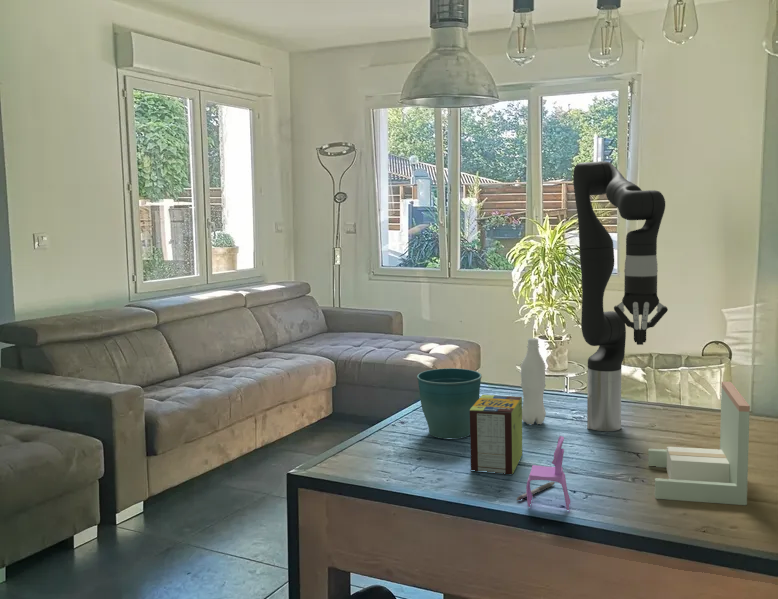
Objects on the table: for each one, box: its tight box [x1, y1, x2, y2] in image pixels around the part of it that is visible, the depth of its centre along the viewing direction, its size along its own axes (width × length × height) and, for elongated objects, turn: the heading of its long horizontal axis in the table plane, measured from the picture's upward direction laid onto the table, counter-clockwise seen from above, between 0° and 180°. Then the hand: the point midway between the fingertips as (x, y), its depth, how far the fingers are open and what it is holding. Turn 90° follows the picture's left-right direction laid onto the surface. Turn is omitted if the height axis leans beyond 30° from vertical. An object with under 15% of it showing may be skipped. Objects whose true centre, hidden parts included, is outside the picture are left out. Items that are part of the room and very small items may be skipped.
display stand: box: [647, 381, 751, 506], centre depth 165 cm, size 18×22×21 cm
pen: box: [516, 481, 556, 501], centre depth 163 cm, size 1×14×1 cm, turn 132°
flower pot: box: [416, 367, 483, 439], centre depth 208 cm, size 18×18×17 cm
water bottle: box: [520, 338, 547, 426], centre depth 216 cm, size 7×7×25 cm
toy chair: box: [525, 435, 571, 511], centre depth 156 cm, size 8×9×15 cm
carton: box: [666, 446, 729, 483], centre depth 169 cm, size 12×10×6 cm
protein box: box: [469, 394, 523, 475], centre depth 182 cm, size 10×15×16 cm
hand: (640, 344), depth 180 cm, fingers closed
